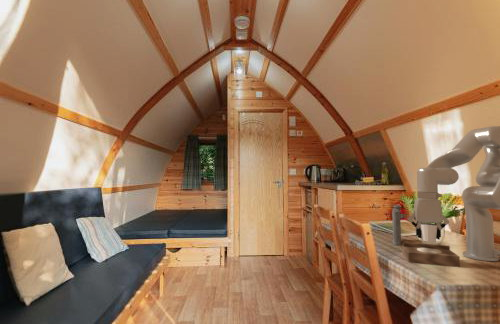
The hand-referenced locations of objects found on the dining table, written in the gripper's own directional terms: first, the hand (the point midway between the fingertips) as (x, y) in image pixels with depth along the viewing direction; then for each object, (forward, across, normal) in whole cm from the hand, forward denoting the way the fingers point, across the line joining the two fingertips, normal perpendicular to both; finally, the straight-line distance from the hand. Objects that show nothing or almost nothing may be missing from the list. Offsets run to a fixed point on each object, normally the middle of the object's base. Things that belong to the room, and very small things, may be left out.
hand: (428, 237), depth 119 cm
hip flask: (+10, +7, -33) cm, 35 cm away
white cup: (+1, 0, 0) cm, 1 cm away
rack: (+10, 0, 0) cm, 10 cm away
